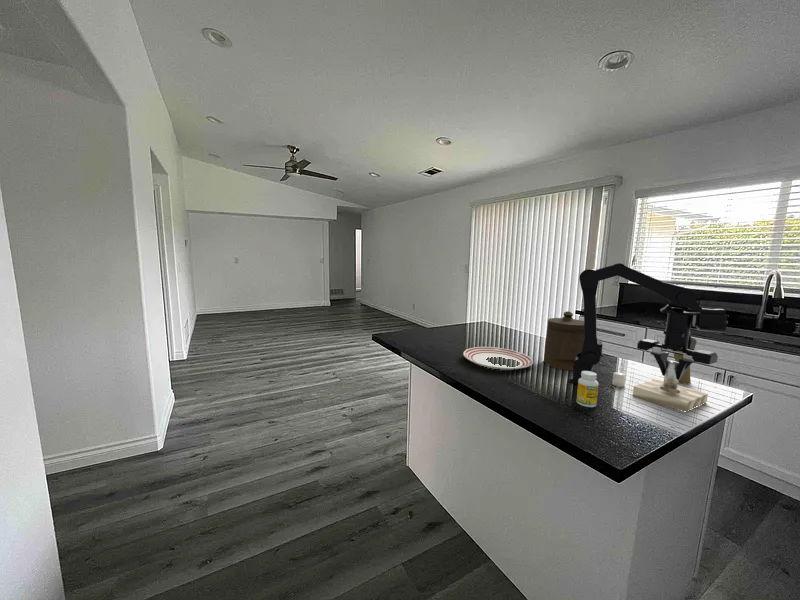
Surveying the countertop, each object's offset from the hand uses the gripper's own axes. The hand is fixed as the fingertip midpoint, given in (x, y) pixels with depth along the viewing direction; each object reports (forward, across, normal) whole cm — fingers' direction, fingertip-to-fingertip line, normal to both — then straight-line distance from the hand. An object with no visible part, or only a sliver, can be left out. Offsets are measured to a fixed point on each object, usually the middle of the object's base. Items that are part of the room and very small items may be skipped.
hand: (671, 377), depth 106 cm
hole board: (+7, 0, 0) cm, 7 cm away
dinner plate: (+8, +51, +22) cm, 56 cm away
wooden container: (+7, +37, -1) cm, 38 cm away
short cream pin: (+7, +14, +2) cm, 16 cm away
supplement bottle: (+7, +10, +27) cm, 30 cm away
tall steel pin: (+3, 0, 0) cm, 3 cm away
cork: (+7, +6, -23) cm, 25 cm away
